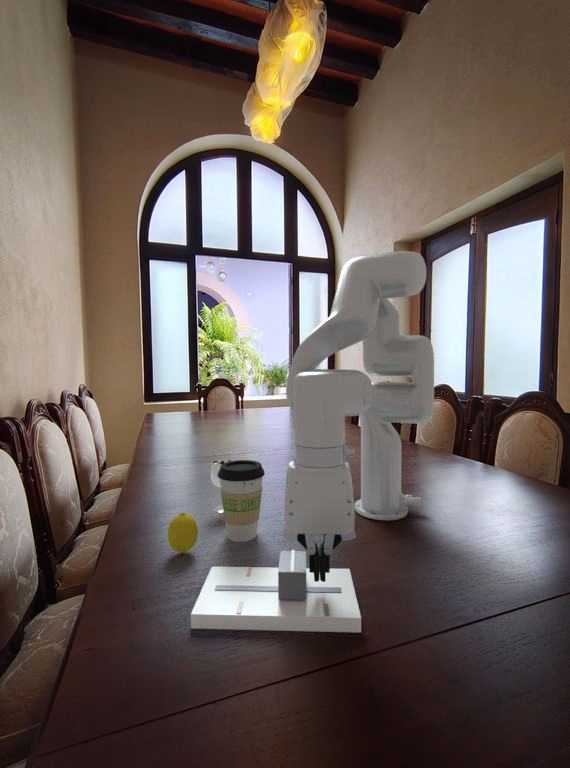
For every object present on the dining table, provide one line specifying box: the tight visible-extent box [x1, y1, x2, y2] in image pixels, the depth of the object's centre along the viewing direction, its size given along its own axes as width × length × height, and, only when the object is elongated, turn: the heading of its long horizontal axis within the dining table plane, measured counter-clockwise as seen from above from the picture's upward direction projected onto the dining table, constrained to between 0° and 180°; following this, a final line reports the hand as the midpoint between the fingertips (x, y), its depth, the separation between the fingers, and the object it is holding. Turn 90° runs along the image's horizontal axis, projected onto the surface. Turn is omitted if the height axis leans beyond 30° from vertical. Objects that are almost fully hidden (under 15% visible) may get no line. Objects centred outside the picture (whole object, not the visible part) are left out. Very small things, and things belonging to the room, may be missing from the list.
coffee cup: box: [218, 459, 265, 543], centre depth 78 cm, size 10×10×15 cm
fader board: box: [190, 566, 362, 633], centre depth 56 cm, size 23×12×2 cm, turn 88°
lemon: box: [167, 511, 199, 555], centre depth 70 cm, size 6×6×8 cm
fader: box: [278, 549, 307, 600], centre depth 56 cm, size 4×6×4 cm, turn 177°
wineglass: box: [210, 459, 232, 514], centre depth 92 cm, size 6×6×12 cm
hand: (319, 576), depth 55 cm, fingers closed
